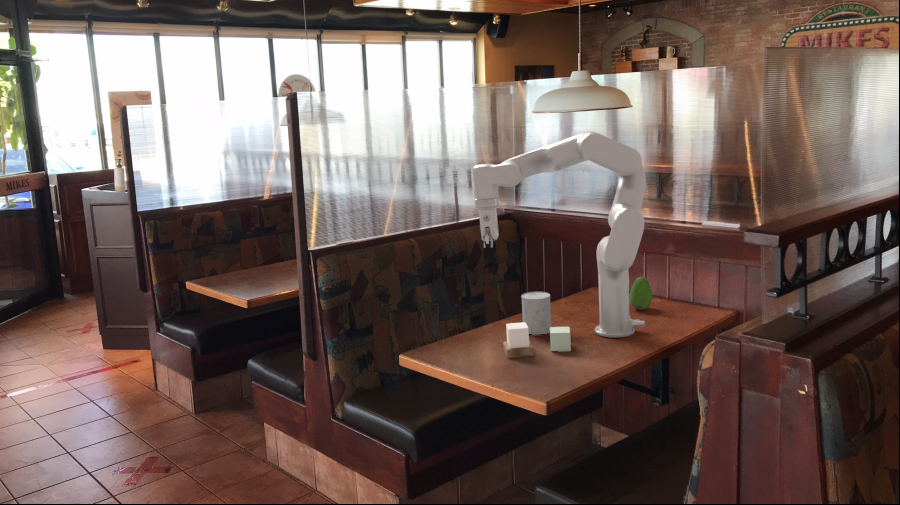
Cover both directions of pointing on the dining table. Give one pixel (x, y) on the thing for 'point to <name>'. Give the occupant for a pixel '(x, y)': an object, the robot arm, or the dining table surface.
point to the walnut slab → (517, 351)
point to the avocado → (641, 294)
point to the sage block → (560, 339)
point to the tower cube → (517, 335)
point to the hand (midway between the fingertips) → (490, 256)
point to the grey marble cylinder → (536, 312)
